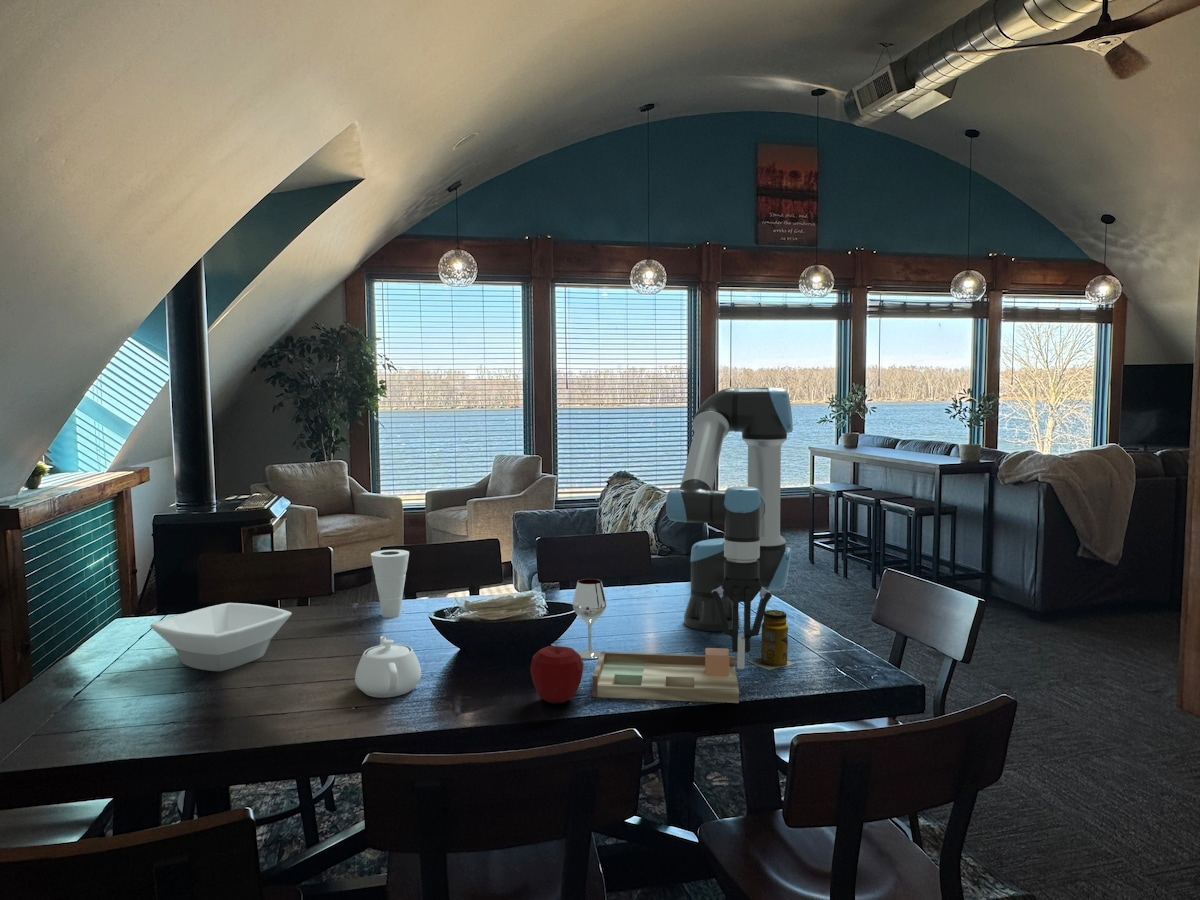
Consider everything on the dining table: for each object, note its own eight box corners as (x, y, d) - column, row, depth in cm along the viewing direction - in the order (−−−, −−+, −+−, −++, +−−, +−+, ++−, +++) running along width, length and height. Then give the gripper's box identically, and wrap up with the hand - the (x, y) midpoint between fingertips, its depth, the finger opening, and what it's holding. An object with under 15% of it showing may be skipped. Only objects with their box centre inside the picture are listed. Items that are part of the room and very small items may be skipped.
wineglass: (611, 651, 196) (611, 579, 194) (600, 662, 188) (600, 586, 187) (579, 648, 198) (579, 576, 197) (567, 658, 191) (567, 584, 189)
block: (705, 667, 176) (705, 647, 176) (728, 668, 176) (728, 648, 176) (705, 675, 171) (705, 655, 171) (729, 676, 171) (729, 655, 171)
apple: (540, 714, 157) (539, 656, 156) (523, 696, 166) (522, 641, 166) (591, 706, 161) (591, 649, 160) (572, 688, 171) (572, 634, 170)
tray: (601, 671, 182) (601, 651, 181) (734, 676, 178) (734, 656, 178) (592, 697, 166) (592, 675, 166) (738, 703, 162) (739, 681, 162)
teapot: (428, 702, 163) (428, 651, 162) (359, 712, 158) (358, 658, 157) (413, 669, 183) (412, 622, 183) (351, 676, 179) (350, 629, 178)
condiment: (795, 664, 187) (796, 613, 186) (769, 670, 182) (770, 619, 181) (772, 655, 193) (773, 606, 192) (746, 662, 188) (747, 611, 187)
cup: (404, 620, 223) (403, 556, 222) (367, 620, 223) (365, 556, 222) (414, 610, 234) (413, 549, 233) (378, 610, 234) (376, 549, 233)
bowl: (302, 651, 196) (301, 610, 195) (214, 684, 173) (213, 638, 173) (232, 639, 206) (230, 600, 206) (140, 669, 184) (138, 625, 183)
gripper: (770, 556, 175) (769, 661, 176) (710, 554, 176) (709, 660, 177) (774, 563, 167) (773, 673, 169) (711, 561, 168) (710, 671, 170)
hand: (740, 666), depth 173 cm, fingers closed
